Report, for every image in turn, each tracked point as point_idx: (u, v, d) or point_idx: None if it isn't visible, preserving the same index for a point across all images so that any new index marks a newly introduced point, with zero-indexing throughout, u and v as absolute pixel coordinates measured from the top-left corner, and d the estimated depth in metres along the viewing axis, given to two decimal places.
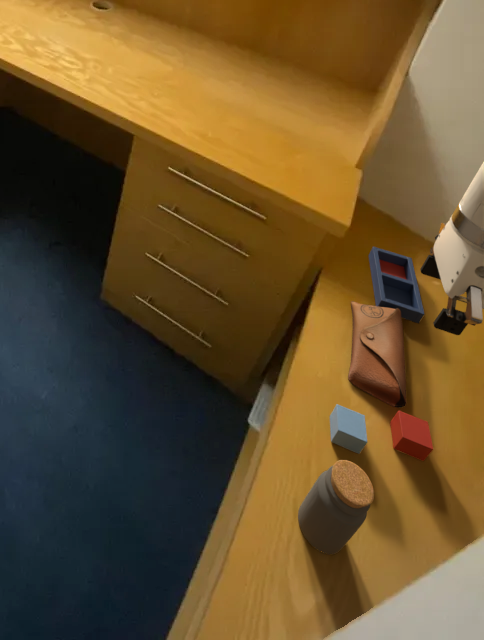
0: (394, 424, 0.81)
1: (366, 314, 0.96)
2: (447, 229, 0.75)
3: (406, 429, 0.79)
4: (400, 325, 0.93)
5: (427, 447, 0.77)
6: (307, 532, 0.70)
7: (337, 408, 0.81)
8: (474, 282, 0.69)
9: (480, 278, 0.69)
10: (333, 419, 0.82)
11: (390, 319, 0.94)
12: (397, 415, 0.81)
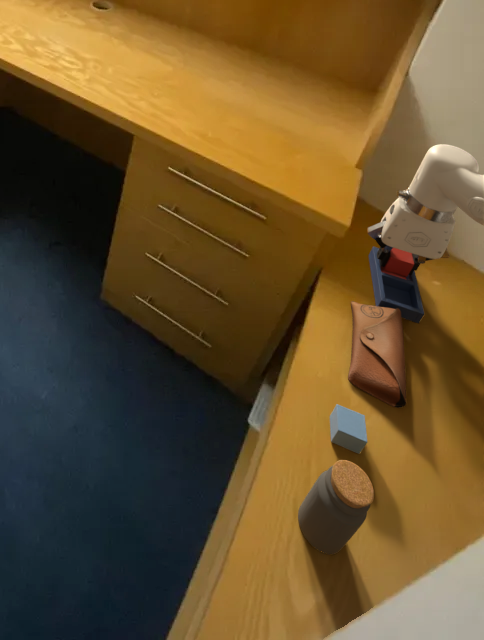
0: None
1: (366, 314, 0.96)
2: None
3: (394, 253, 1.03)
4: (400, 325, 0.93)
5: (409, 263, 1.01)
6: (307, 532, 0.70)
7: (337, 408, 0.81)
8: (386, 215, 1.01)
9: (389, 213, 1.00)
10: (333, 419, 0.82)
11: (390, 319, 0.94)
12: None
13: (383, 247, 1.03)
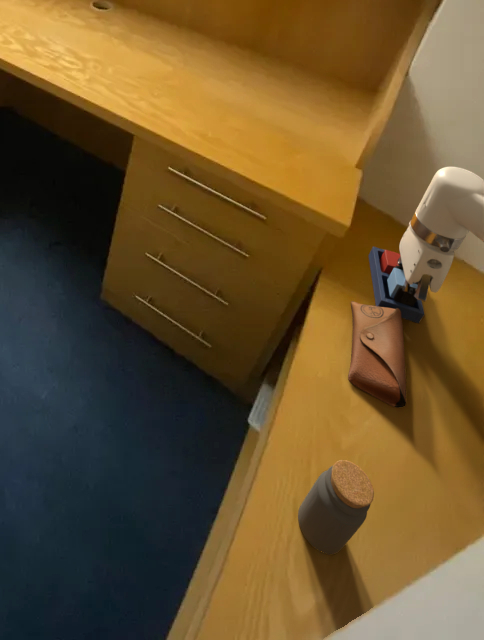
0: (381, 260, 1.06)
1: (366, 314, 0.96)
2: (408, 231, 0.96)
3: (390, 260, 1.04)
4: (400, 325, 0.93)
5: None
6: (307, 532, 0.70)
7: (394, 270, 0.99)
8: (427, 272, 0.90)
9: (431, 268, 0.89)
10: (391, 279, 1.00)
11: (390, 319, 0.94)
12: (384, 253, 1.06)
13: None
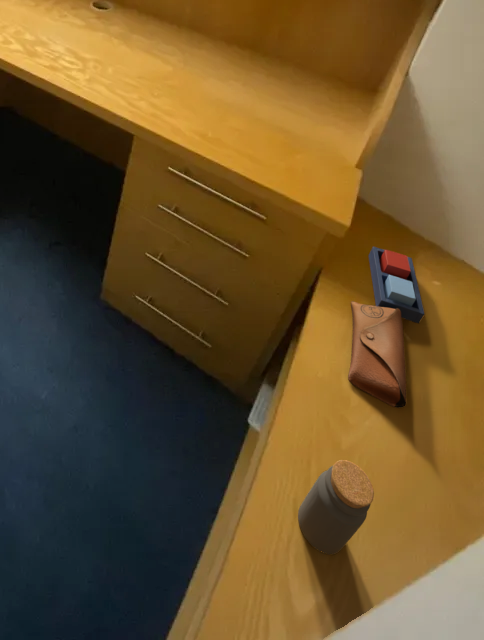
0: (381, 260, 1.06)
1: (366, 314, 0.96)
2: None
3: (390, 260, 1.04)
4: (400, 325, 0.93)
5: (406, 270, 1.02)
6: (307, 532, 0.70)
7: (389, 277, 1.01)
8: None
9: None
10: (386, 286, 1.01)
11: (390, 319, 0.94)
12: (384, 253, 1.06)
13: None
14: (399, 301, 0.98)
